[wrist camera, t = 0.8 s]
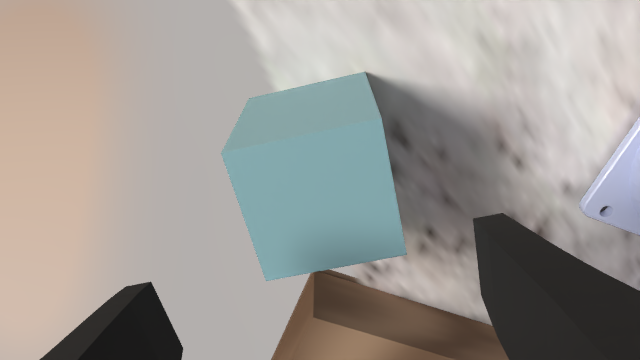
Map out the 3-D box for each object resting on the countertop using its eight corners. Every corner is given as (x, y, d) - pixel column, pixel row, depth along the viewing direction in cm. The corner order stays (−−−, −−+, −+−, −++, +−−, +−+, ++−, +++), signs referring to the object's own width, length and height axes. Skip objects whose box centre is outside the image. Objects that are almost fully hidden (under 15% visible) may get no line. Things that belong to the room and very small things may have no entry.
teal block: (364, 71, 17) (381, 117, 13) (385, 177, 19) (406, 254, 14) (249, 98, 18) (221, 153, 13) (280, 199, 20) (266, 281, 15)
